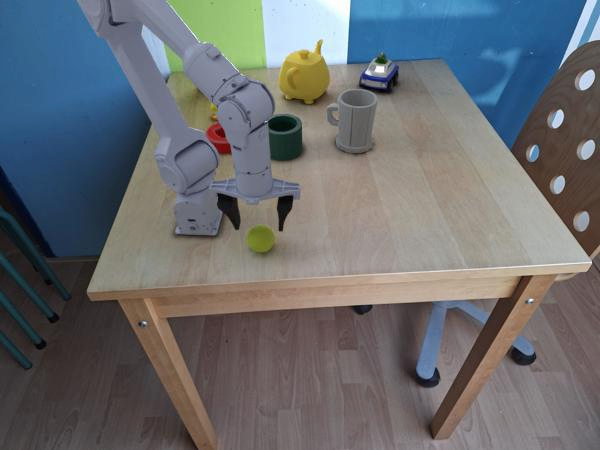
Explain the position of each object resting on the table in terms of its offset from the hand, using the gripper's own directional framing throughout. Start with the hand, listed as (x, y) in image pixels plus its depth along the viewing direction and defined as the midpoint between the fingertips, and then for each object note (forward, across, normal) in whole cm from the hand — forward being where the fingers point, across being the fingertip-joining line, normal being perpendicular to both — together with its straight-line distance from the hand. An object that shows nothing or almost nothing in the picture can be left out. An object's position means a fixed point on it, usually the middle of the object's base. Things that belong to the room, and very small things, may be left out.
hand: (259, 226), depth 74 cm
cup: (+6, +17, +35) cm, 39 cm away
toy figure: (+6, -18, +46) cm, 50 cm away
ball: (+3, 0, 0) cm, 3 cm away
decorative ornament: (+6, -13, +35) cm, 37 cm away
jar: (+5, +1, +32) cm, 32 cm away
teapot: (+6, +5, +60) cm, 61 cm away
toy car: (+6, +26, +67) cm, 72 cm away
